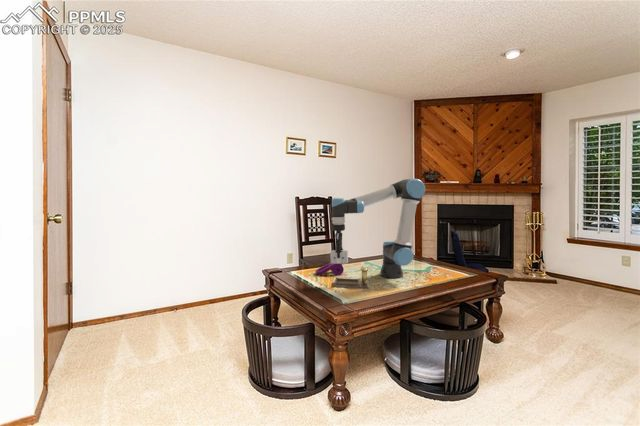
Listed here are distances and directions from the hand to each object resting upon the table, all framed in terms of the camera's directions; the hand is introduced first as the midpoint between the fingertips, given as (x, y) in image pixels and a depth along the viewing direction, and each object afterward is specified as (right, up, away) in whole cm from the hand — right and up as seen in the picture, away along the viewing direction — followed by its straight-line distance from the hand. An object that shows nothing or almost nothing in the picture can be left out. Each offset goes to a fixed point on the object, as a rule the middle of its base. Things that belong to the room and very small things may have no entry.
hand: (339, 261), depth 199 cm
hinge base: (+7, -14, 0) cm, 16 cm away
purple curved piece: (-6, -12, +26) cm, 29 cm away
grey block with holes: (0, 0, 0) cm, 0 cm away
